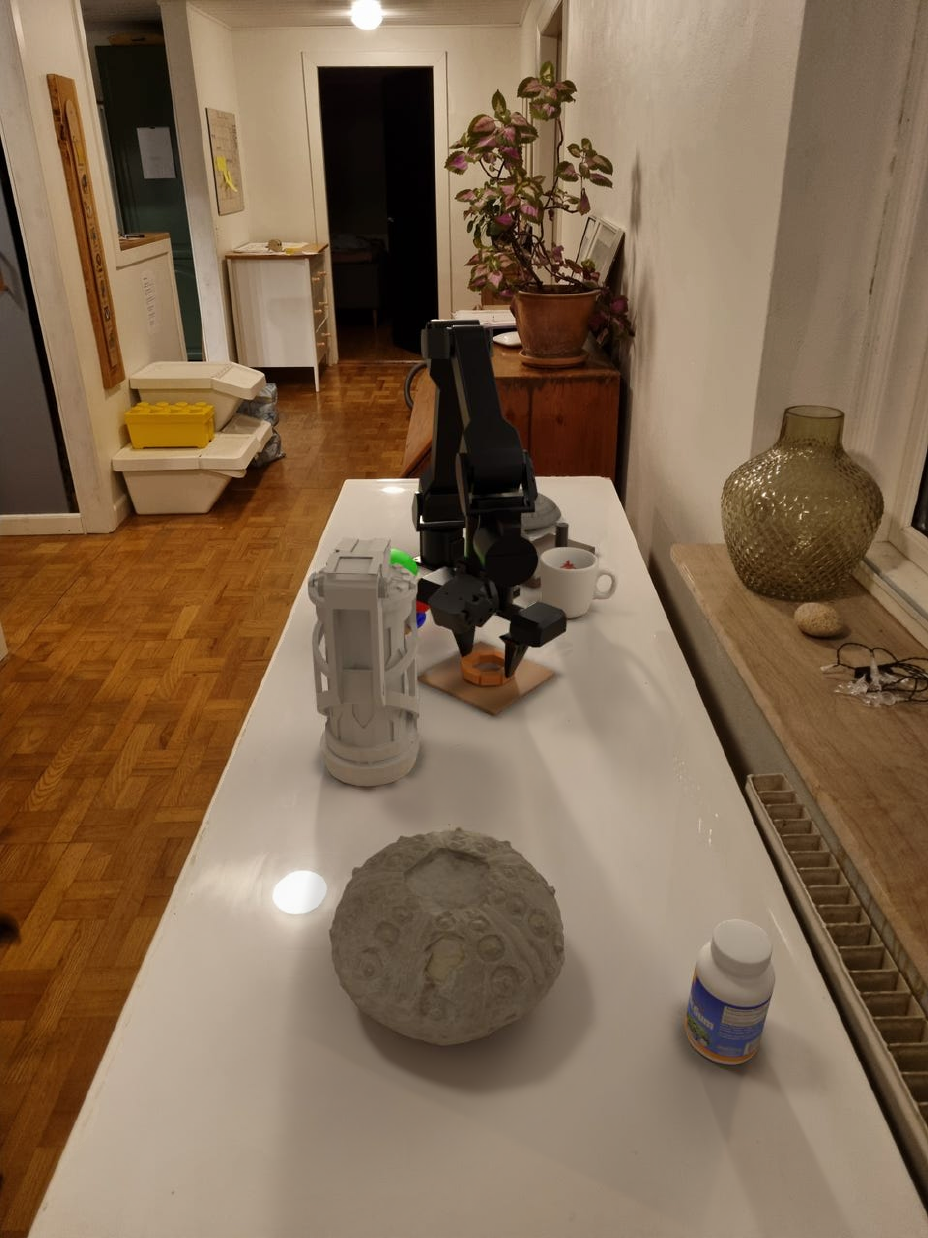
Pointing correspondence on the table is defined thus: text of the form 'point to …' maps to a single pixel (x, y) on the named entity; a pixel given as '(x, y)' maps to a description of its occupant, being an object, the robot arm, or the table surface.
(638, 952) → the table surface
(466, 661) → the ring
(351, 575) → the lantern
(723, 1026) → the pill bottle
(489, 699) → the cork mat
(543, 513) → the flying saucer
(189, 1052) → the table surface
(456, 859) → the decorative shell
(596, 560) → the cup
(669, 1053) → the table surface
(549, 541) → the peg board
